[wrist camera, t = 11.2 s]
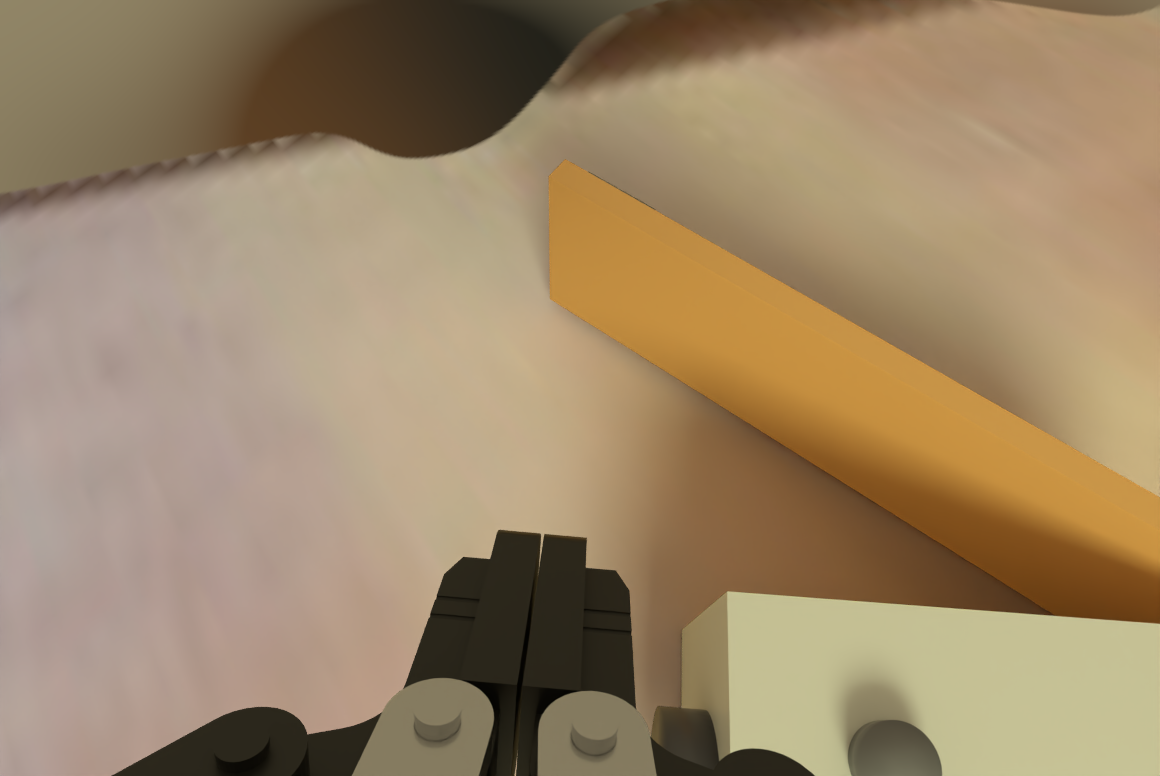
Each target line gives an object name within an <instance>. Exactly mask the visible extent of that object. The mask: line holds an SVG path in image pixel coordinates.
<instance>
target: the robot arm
mask: <svg viewBox="0 0 1160 776" xmlns="http://www.w3.org/2000/svg"><path fill="white" fill-rule="evenodd" d="M586 543H587V538H583V537H572V536H560V535H549V534H544V540H543V547H542V553H541V560H540V567H539V558H540V544H541V534H539V533H528V532H517V531H505V530H498V532H497V535H496V539H495V543H494V547H493V551H492V555H491V559H481V558H469V557H463V558H462V559H461V560H459V561H458V562H457V563H456V564H455V565H454V566H453V567H452V568H451V569H449V570H448V571H447V572H446V573H445V574H444V576H443V579H442V582H441V585H440V588H439V591H438V593H437V598H436V600H435V602H434V605H433V608H432V610H431V614H430V618H429V619H428V622H427V625H426V627H425V630H424V633H423V636H422V639H421V641H420V644H419V647H418V650H417V653H416V656H415V658H414V661H413V664H412V667H411V670H410V673H409V675H408V678H407V681H406V684H405V686H404V688H403V690H401V691H399V692H398V693H397V694H396V695H395V696H393V697H392V699H391V700H390V701H389V702H388V703H387V705H386V707H385V708H384V710H383V712H382V713H380V714H379V715H377V716H375V717H374V718H372V719H370V720H367V721H365V722H363V723H360V724H357V725H354V726H351V727H346V728H342V729H336V730H331V731H325V732H319V733H314V734H308V735H307V732H306V729H305V727H304V725H303V724H302V722H301V721H300V720H299V719H298V718H297V717H295V716H294V715H293V714H291V713H289V712H287V711H284V710H281V709H278V708H271V707H254V708H246V709H242V710H238V711H234V712H231V713H229V714H226V715H223V716H221V717H219V718H217V719H215V720H213V721H211V722H209V723H208V724H206V725H204V726H202V727H200V728H198V729H197V730H195V731H193V732H191V733H189V734H187V735H186V736H184V737H182V738H180V739H178V740H176V741H175V742H173V743H171V744H169V745H167V746H165V747H164V748H162V749H160V750H158V751H156V752H154V753H153V754H151V755H149V756H147V757H145V758H143V759H142V760H140V761H138V762H136V763H134V764H132V765H131V766H129V767H127V768H125V769H123V770H121V771H120V772H118V773H116V774H114V775H112V776H514V774H515V767H516V760H517V770H516V776H815V775H814V774H813V773H811V772H810V771H809V770H808V769H806V768H805V767H804V766H803V765H801V764H800V763H798V762H796V761H795V760H793V759H791V758H789V757H787V756H785V755H783V754H780V753H777V752H774V751H771V750H765V749H756V748H750V749H741V750H738V751H734V752H732V753H730V754H728V755H726V756H725V757H724V758H722V759H721V760H720V761H719V762H718V764H717V765H716V766H715V768H714V770H712V769H710V768H707V767H704V766H702V765H699V764H696V763H694V762H691V761H688V760H686V759H683V758H681V757H679V756H676V755H674V754H673V753H671V752H669V751H667V750H666V749H664V748H663V747H662V746H660V745H659V744H658V743H656V742H655V741H654V740H653V739H652V738H651V737H650V734H649V730H648V726H647V724H646V722H645V720H644V718H643V717H642V716H641V714H640V713H639V712H638V711H637V710H636V703H635V685H634V667H633V649H632V636H631V617H630V594H629V590H628V588H627V587H626V585H625V584H624V582H623V581H622V579H621V578H620V576H619V575H618V573H617V572H616V571H615V570H603V569H592V568H586ZM538 572H539V574H538ZM517 753H518V756H517Z"/></svg>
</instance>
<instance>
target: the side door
mask: <svg viewBox="0 0 1160 776" xmlns="http://www.w3.org/2000/svg"><path fill="white" fill-rule="evenodd" d="M549 253H550V299H551V300H553V301H554V302H556V303H557V304H559V305H561V306H562V307H564V308H565V309H567V310H569V311H570V312H572V313H573V314H575V315H577V316H578V317H580V318H581V319H583V320H584V321H586V322H588V323H589V324H591V325H592V326H594V327H596V328H597V329H599V330H600V331H602V332H604V333H605V334H607V335H608V336H610V337H612V338H613V339H615V340H616V341H618V342H620V343H621V344H623V345H624V346H626V347H628V348H629V349H631V350H632V351H634V352H636V353H637V354H639V355H640V356H642V357H644V358H645V359H647V360H648V361H650V362H652V363H653V364H655V365H656V366H658V367H659V368H661V369H663V370H664V371H666V372H667V373H669V374H671V375H672V376H674V377H675V378H677V379H679V380H680V381H682V382H683V383H685V384H687V385H688V386H690V387H691V388H693V389H695V390H696V391H698V392H699V393H701V394H703V395H704V396H706V397H707V398H709V399H711V400H712V401H714V402H715V403H717V404H719V405H720V406H722V407H723V408H725V409H727V410H728V411H730V412H731V413H733V414H734V415H736V416H738V417H739V418H741V419H742V420H744V421H746V422H747V423H749V424H750V425H752V426H754V427H755V428H757V429H758V430H760V431H762V432H763V433H765V434H766V435H768V436H770V437H771V438H773V439H774V440H776V441H778V442H779V443H781V444H782V445H784V446H786V447H787V448H789V449H790V450H792V451H794V452H795V453H797V454H798V455H800V456H802V457H803V458H805V459H806V460H808V461H809V462H811V463H813V464H814V465H816V466H817V467H819V468H821V469H822V470H824V471H825V472H827V473H829V474H830V475H832V476H833V477H835V478H837V479H838V480H840V481H841V482H843V483H845V484H846V485H848V486H849V487H851V488H853V489H854V490H856V491H857V492H859V493H861V494H862V495H864V496H865V497H867V498H869V499H870V500H872V501H873V502H875V503H877V504H878V505H880V506H881V507H883V508H884V509H886V510H888V511H889V512H891V513H892V514H894V515H896V516H897V517H899V518H900V519H902V520H904V521H905V522H907V523H908V524H910V525H912V526H913V527H915V528H916V529H918V530H920V531H921V532H923V533H924V534H926V535H928V536H929V537H931V538H932V539H934V540H936V541H937V542H939V543H940V544H942V545H944V546H945V547H947V548H948V549H950V550H952V551H953V552H955V553H956V554H958V555H959V556H961V557H963V558H964V559H966V560H967V561H969V562H971V563H972V564H974V565H975V566H977V567H979V568H980V569H982V570H983V571H985V572H987V573H988V574H990V575H991V576H993V577H995V578H996V579H998V580H999V581H1001V582H1003V583H1004V584H1006V585H1007V586H1009V587H1011V588H1012V589H1014V590H1015V591H1017V592H1019V593H1020V594H1022V595H1023V596H1025V597H1027V598H1028V599H1030V600H1031V601H1033V602H1035V603H1036V604H1038V605H1039V606H1041V607H1042V608H1044V609H1046V610H1047V611H1049V612H1050V613H1052V614H1054V615H1055V616H1062V617H1075V618H1088V619H1102V620H1115V621H1128V622H1142V623H1155V624H1160V497H1158V496H1156V495H1155V494H1153V493H1151V492H1149V491H1148V490H1146V489H1144V488H1142V487H1140V486H1139V485H1137V484H1135V483H1133V482H1132V481H1130V480H1128V479H1126V478H1125V477H1123V476H1121V475H1119V474H1118V473H1116V472H1114V471H1112V470H1111V469H1109V468H1107V467H1105V466H1104V465H1102V464H1100V463H1098V462H1097V461H1095V460H1093V459H1091V458H1090V457H1088V456H1086V455H1084V454H1082V453H1081V452H1079V451H1077V450H1075V449H1074V448H1072V447H1070V446H1068V445H1067V444H1065V443H1063V442H1061V441H1060V440H1058V439H1056V438H1054V437H1053V436H1051V435H1049V434H1047V433H1046V432H1044V431H1042V430H1040V429H1039V428H1037V427H1035V426H1033V425H1032V424H1030V423H1028V422H1026V421H1025V420H1023V419H1021V418H1019V417H1017V416H1016V415H1014V414H1012V413H1010V412H1009V411H1007V410H1005V409H1003V408H1002V407H1000V406H998V405H996V404H995V403H993V402H991V401H989V400H988V399H986V398H984V397H982V396H981V395H979V394H977V393H975V392H974V391H972V390H970V389H968V388H967V387H965V386H963V385H961V384H959V383H958V382H956V381H954V380H952V379H951V378H949V377H947V376H945V375H944V374H942V373H940V372H938V371H937V370H935V369H933V368H931V367H930V366H928V365H926V364H924V363H923V362H921V361H919V360H917V359H916V358H914V357H912V356H910V355H909V354H907V353H905V352H903V351H902V350H900V349H898V348H896V347H894V346H893V345H891V344H889V343H887V342H886V341H884V340H882V339H880V338H879V337H877V336H875V335H873V334H872V333H870V332H868V331H866V330H865V329H863V328H861V327H859V326H858V325H856V324H854V323H852V322H851V321H849V320H847V319H845V318H844V317H842V316H840V315H838V314H836V313H835V312H833V311H831V310H829V309H828V308H826V307H824V306H822V305H821V304H819V303H817V302H815V301H814V300H812V299H810V298H808V297H807V296H805V295H803V294H801V293H800V292H798V291H796V290H794V289H793V288H791V287H789V286H787V285H786V284H784V283H782V282H780V281H778V280H777V279H775V278H773V277H771V276H770V275H768V274H766V273H764V272H763V271H761V270H759V269H757V268H756V267H754V266H752V265H750V264H749V263H747V262H745V261H743V260H742V259H740V258H738V257H736V256H735V255H733V254H731V253H729V252H728V251H726V250H724V249H722V248H721V247H719V246H717V245H715V244H713V243H712V242H710V241H708V240H706V239H705V238H703V237H701V236H699V235H698V234H696V233H694V232H692V231H691V230H689V229H687V228H685V227H684V226H682V225H680V224H678V223H677V222H675V221H673V220H671V219H670V218H668V217H666V216H664V215H663V214H661V213H659V212H657V211H655V209H654V208H652V207H650V206H648V205H647V204H645V203H643V202H641V201H640V200H638V199H636V198H634V197H632V196H631V195H629V194H627V193H625V192H624V191H622V190H620V189H618V188H617V187H615V186H613V185H611V184H610V183H608V182H606V181H604V180H603V179H601V178H599V177H597V176H596V175H594V174H592V173H590V172H589V171H588V172H587V171H585V170H583V169H582V168H580V167H578V166H576V165H575V164H573V163H571V162H569V161H568V160H566V159H565V160H564V161H563V162H562V163H561V164H560V165H559V166H558V167H557V168H556V169H555V170H554V171H553V172H552V173H551V174H550V175H549Z"/></svg>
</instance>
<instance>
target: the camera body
mask: <svg viewBox="0 0 1160 776" xmlns="http://www.w3.org/2000/svg"><path fill="white" fill-rule="evenodd" d="M651 738H652V739H653V740H654V741H655V742H656V743H658V744H659V745H660V746H662V747H663V748H664V749H666V750H667V751H669V752H671V753H673V754H674V755H676V756H679V757H681V758H683V759H686V760H688V761H691V762H694V763H696V764H699V765H702V766H704V767H707V768H710V769H712V770H714V768H715V766H716V765H717V764H718V762H719V761H720V760H721V759H722V758H724V757H725V756H726V755H728V754H730V753H732V752H734V751H738V750H741V749H750V748H756V749H765V750H771V751H774V752H777V753H780V754H783V755H785V756H787V757H789V758H791V759H793V760H795V761H796V762H798V763H800V764H801V765H803V766H804V767H805V768H806V769H808V770H809V771H810V772H811V773H813V774H814V775H815V776H1160V624H1155V623H1142V622H1128V621H1115V620H1102V619H1088V618H1075V617H1062V616H1048V615H1035V614H1022V613H1008V612H995V611H982V610H968V609H955V608H942V607H928V606H915V605H902V604H889V603H875V602H862V601H849V600H835V599H822V598H809V597H795V596H782V595H769V594H755V593H742V592H729V591H727V592H726V593H725V594H723V595H722V596H721V597H720V598H719V599H718V600H716V601H715V602H714V603H713V604H712V605H711V606H709V607H708V608H707V609H706V610H705V611H704V612H702V613H701V614H700V615H699V616H698V617H696V618H695V619H694V620H693V621H692V622H691V623H689V624H688V625H687V626H686V627H685V628H684V629H682V696H681V708H677V707H663V706H658V707H657V709H656V711H655V715H654V719H653V725H652V732H651Z"/></svg>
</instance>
